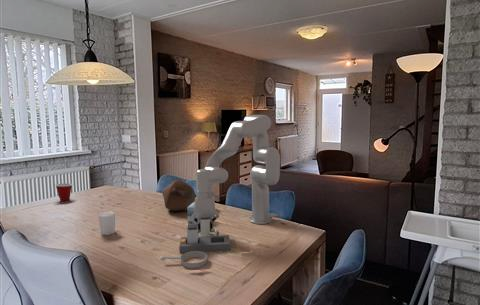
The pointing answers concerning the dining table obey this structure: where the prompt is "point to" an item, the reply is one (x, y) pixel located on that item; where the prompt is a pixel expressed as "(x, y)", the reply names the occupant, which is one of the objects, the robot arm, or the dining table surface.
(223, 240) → the strip
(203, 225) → the plug
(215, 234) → the tray
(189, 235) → the light grey peg
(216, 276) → the dining table surface
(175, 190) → the jug
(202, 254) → the saucepan
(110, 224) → the white cup
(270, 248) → the dining table surface
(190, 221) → the light bulb box
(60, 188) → the plastic cup
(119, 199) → the dining table surface
